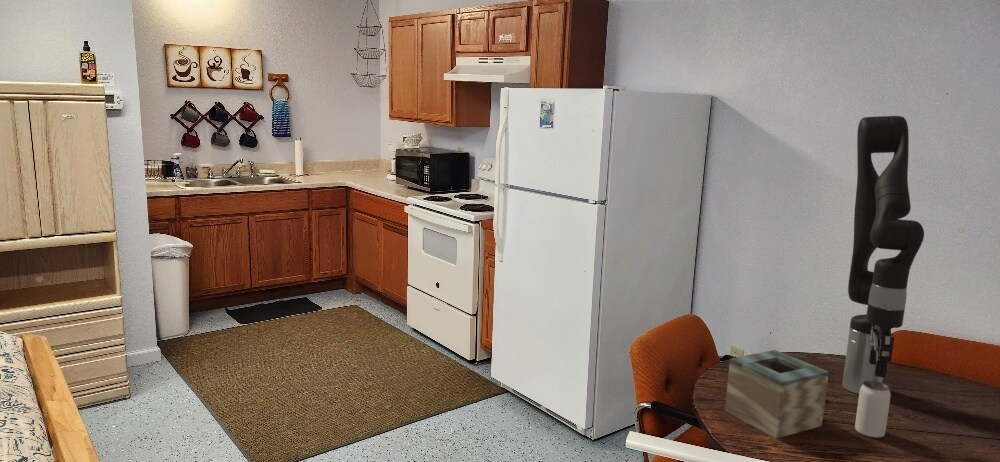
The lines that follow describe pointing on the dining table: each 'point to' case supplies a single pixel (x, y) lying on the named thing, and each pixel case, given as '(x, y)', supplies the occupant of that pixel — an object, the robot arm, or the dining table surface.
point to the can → (873, 409)
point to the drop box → (776, 393)
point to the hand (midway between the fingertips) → (876, 370)
